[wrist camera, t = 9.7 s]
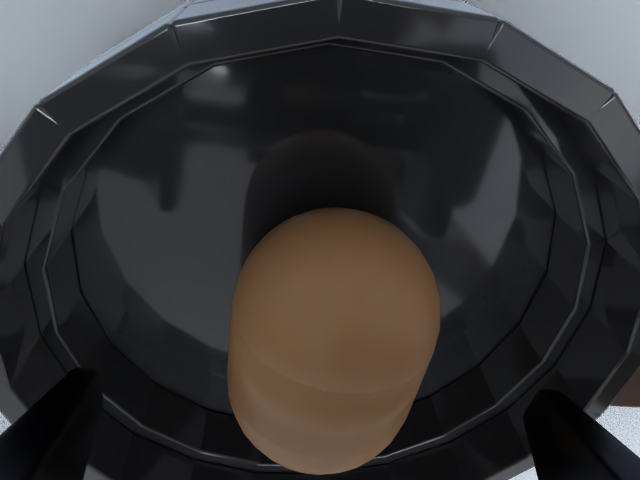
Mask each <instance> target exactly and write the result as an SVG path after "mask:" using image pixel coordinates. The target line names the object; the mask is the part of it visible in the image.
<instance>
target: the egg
mask: <svg viewBox="0 0 640 480" xmlns="http://www.w3.org/2000/svg"><path fill="white" fill-rule="evenodd" d="M439 331H440V296H439V293H438V289H437V285H436V281H435V278H434V275H433V271H432V270H431V268H430V266H429V264H428V263H427V261H426V259H425V258H424V256H423V254H422V252H421V251H420V249H419V248H418V247H417V246H416V244H415V243H414V242H413V241H412V240H411V239H410V238H409V237H408V236H407V235H406V234H405V233H403V232H402V231H401V230H400V229H399V228H397V227H396V226H395V225H393V224H392V223H390V222H388V221H387V220H385V219H383V218H380V217H378V216H376V215H373V214H370V213H367V212H364V211H360V210H356V209H349V208H338V207H331V208H320V209H315V210H311V211H308V212H305V213H302V214H299V215H296V216H293V217H291V218H289V219H288V220H286V221H284V222H282V223H281V224H280V225H278V226H277V227H275V228H274V229H272V230H271V231H270V232H269V233H267V234H266V235H265V236H264V237H263V238H262V239H261V240H260V242H259V243H258V244H257V245H256V246H255V247H254V248H253V250H252V251H251V253H250V254H249V256H248V258H247V259H246V261H245V263H244V265H243V267H242V269H241V271H240V273H239V276H238V280H237V283H236V287H235V292H234V297H233V301H232V313H231V326H230V339H229V353H228V366H227V380H228V395H229V399H230V402H231V406H232V410H233V412H234V415H235V417H236V419H237V421H238V423H239V425H240V427H241V429H242V431H243V433H244V434H245V435H246V437H247V438H248V439H249V440H250V441H251V443H252V444H253V445H254V446H255V447H256V448H257V449H258V450H260V451H261V452H262V453H263V454H265V455H266V456H267V457H268V458H270V459H271V460H272V461H274V462H276V463H278V464H280V465H281V466H283V467H285V468H288V469H291V470H294V471H297V472H300V473H306V474H315V475H323V474H335V473H341V472H344V471H348V470H351V469H354V468H357V467H359V466H361V465H363V464H365V463H366V462H368V461H370V460H371V459H373V458H374V457H375V456H377V455H378V454H379V453H380V452H381V451H382V450H383V449H385V448H386V447H387V446H388V445H389V444H390V443H391V442H392V440H393V439H394V437H395V436H396V434H397V433H398V431H399V430H400V428H401V427H402V425H403V424H404V422H405V420H406V418H407V416H408V413H409V411H410V408H411V406H412V404H413V401H414V399H415V396H416V394H417V392H418V389H419V387H420V384H421V382H422V380H423V377H424V375H425V372H426V370H427V368H428V365H429V363H430V360H431V358H432V355H433V353H434V349H435V346H436V342H437V338H438V334H439Z"/></svg>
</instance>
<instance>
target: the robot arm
mask: <svg viewBox="0 0 640 480" xmlns="http://www.w3.org/2000/svg"><path fill="white" fill-rule="evenodd" d="M102 403H103V393H102V386H101V379H100V373H99V370H98V369H97V368H90V367H76V368H74V369H72V370H71V371H70V372H68V373H67V374H66V375H65V376H64V377H63V378H62V379H61V380H60V381H59V382H58V383H56V384H55V385H54V386H53V387H52V388H51V389H50V390H49V391H48V392H47V393H46V394H44V395H43V396H42V397H41V398H40V399H39V400H38V401H37V402H36V403H35V404H34V405H33V406H31V407H30V408H29V409H28V410H27V411H26V412H25V413H24V414H23V415H22V416H21V417H19V418H18V419H17V420H16V421H15V422H14V423H13V424H12V425H11V426H10V427H9V428H7V429H6V430H5V431H4V432H3V433H2V434H1V435H0V480H83V478H84V475H85V471H86V467H87V463H88V459H89V455H90V451H91V447H92V443H93V440H94V436H95V432H96V428H97V424H98V420H99V416H100V412H101V408H102ZM523 421H524V427H525V430H526V434H527V438H528V442H529V446H530V449H531V453H532V457H533V461H534V465H535V468H536V472H537V476H538V480H640V458H639V457H638V456H637V455H636V454H634V453H633V452H632V451H631V450H630V449H629V448H627V447H626V446H625V445H624V444H623V443H621V442H620V441H619V440H618V439H617V438H615V437H614V436H613V435H612V434H611V433H610V432H608V431H607V430H606V429H605V428H604V427H602V426H601V425H600V424H599V423H598V422H597V421H595V420H594V419H593V418H592V417H591V416H589V415H588V414H587V413H586V412H585V411H583V410H582V409H581V408H580V407H579V406H578V405H576V404H575V403H574V402H573V401H572V400H570V399H569V398H568V397H567V396H566V395H565V394H563V393H562V392H560V391H558V390H551V389H541V390H539V391H537V393H536V394H535V396H534V397H533V399H532V400H531V402H530V404H529V405H528V407H527V408H526V410H525V412H524V417H523Z"/></svg>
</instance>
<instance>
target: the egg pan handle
mask: <svg viewBox="0 0 640 480" xmlns="http://www.w3.org/2000/svg"><path fill="white" fill-rule="evenodd" d="M610 406H620V407H640V367H639V368H638V370H637V371H636V372H635V373H634V375H633V376H632V377H631V379H630V380H629V381H628V382H627V384H626V385H625V386H624V388H623V389H622V390H621V392H620V393H619V394H618V395H617V397H616V398H615V399H614V401H613V402H612V403H611V404H610Z"/></svg>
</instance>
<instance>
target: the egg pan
mask: <svg viewBox="0 0 640 480" xmlns="http://www.w3.org/2000/svg"><path fill="white" fill-rule="evenodd" d="M331 207H338V208H349V209H356V210H360V211H364V212H367V213H370V214H373V215H376V216H378V217H380V218H383V219H385V220H387V221H388V222H390V223H392V224H393V225H395V226H396V227H397V228H399V229H400V230H401V231H402V232H403V233H405V234H406V235H407V236H408V237H409V238H410V239H411V240H412V241H413V242H414V243H415V244H416V246H417V247H418V248H419V249H420V251H421V252H422V254H423V256H424V258H425V259H426V261H427V263H428V264H429V266H430V268H431V270H432V271H433V275H434V278H435V281H436V285H437V289H438V293H439V296H440V331H439V334H438V338H437V342H436V346H435V349H434V353H433V355H432V358H431V360H430V363H429V365H428V368H427V370H426V372H425V375H424V377H423V380H422V382H421V384H420V387H419V389H418V392H417V394H416V396H415V399H414V401H413V404H412V406H411V408H410V411H409V413H408V416H407V418H406V420H405V422H404V424H403V425H402V427H401V428H400V430H399V431H398V433H397V434H396V436H395V437H394V439H393V440H392V442H391V443H390V444H389V445H388V446H387V447H386V448H385V449H383V450H382V451H381V452H380V453H379V454H378V455H377V456H375V457H374V458H373V459H371V460H370V461H368V462H366V463H365V464H363V465H361V466H359V467H357V468H354V469H351V470H348V471H344V472H341V473H335V474H323V475H315V474H306V473H300V472H297V471H294V470H291V469H288V468H285V467H283V466H281V465H280V464H278V463H276V462H274V461H272V460H271V459H270V458H268V457H267V456H266V455H265V454H263V453H262V452H261V451H260V450H258V449H257V448H256V447H255V446H254V445H253V444H252V443H251V441H250V440H249V439H248V438H247V437H246V435H245V434H244V433H243V431H242V429H241V427H240V425H239V423H238V421H237V419H236V417H235V415H234V412H233V410H232V406H231V402H230V399H229V395H228V380H227V366H228V353H229V339H230V326H231V313H232V301H233V297H234V292H235V287H236V283H237V280H238V276H239V273H240V271H241V269H242V267H243V265H244V263H245V261H246V259H247V258H248V256H249V254H250V253H251V251H252V250H253V248H254V247H255V246H256V245H257V244H258V243H259V242H260V240H261V239H262V238H263V237H264V236H265V235H266V234H267V233H269V232H270V231H271V230H272V229H274V228H275V227H277V226H278V225H280V224H281V223H282V222H284V221H286V220H288V219H289V218H291V217H293V216H296V215H299V214H302V213H305V212H308V211H311V210H315V209H320V208H331ZM76 367H90V368H97V369H98V370H99V373H100V379H101V386H102V393H103V403H102V408H101V412H100V416H99V420H98V424H97V428H96V432H95V436H94V440H93V443H92V447H91V451H90V455H89V459H88V463H87V467H86V471H85V475H84V478H83V480H509V479H511V478H513V477H515V476H517V475H519V474H520V473H522V472H524V471H526V470H528V469H530V468H532V467H534V466H535V465H534V461H533V457H532V453H531V449H530V446H529V442H528V438H527V434H526V430H525V427H524V421H523V417H524V412H525V410H526V408H527V407H528V405H529V404H530V402H531V400H532V399H533V397H534V396H535V394H536V393H537V391H539V390H541V389H551V390H558V391H560V392H562V393H563V394H565V395H566V396H567V397H568V398H569V399H570V400H572V401H573V402H574V403H575V404H576V405H578V406H579V407H580V408H581V409H582V410H583V411H585V412H586V413H587V414H588V415H589V416H591V417H592V418H593V419H594V420H596V419H598V418H599V417H600V416H601V415H602V413H604V412H605V411H606V410H607V408H608V407H609V406H610V404H611V403H612V402H613V401H614V399H615V398H616V397H617V395H618V394H619V393H620V392H621V390H622V389H623V388H624V386H625V385H626V384H627V382H628V381H629V380H630V379H631V377H632V376H633V375H634V373H635V372H636V371H637V370H638V368H639V367H640V129H639V127H638V126H637V124H636V122H635V121H634V119H633V118H632V116H631V114H630V113H629V111H628V109H627V108H626V106H625V104H624V103H623V101H622V100H621V98H620V96H619V95H618V93H616V92H615V91H614V90H613V88H612V87H610V86H609V85H607V84H605V83H604V82H602V81H601V80H599V79H597V78H596V77H594V76H593V75H591V74H590V73H588V72H586V71H585V70H583V69H582V68H580V67H579V66H577V65H575V64H574V63H572V62H571V61H569V60H568V59H566V58H564V57H563V56H561V55H560V54H558V53H557V52H555V51H553V50H552V49H550V48H549V47H547V46H545V45H544V44H542V43H541V42H539V41H538V40H536V39H534V38H533V37H531V36H530V35H528V34H527V33H525V32H523V31H522V30H520V29H519V28H517V27H516V26H514V25H512V24H511V23H509V22H508V21H506V20H504V19H502V18H500V17H497V16H495V15H493V14H490V13H488V12H486V11H483V10H481V9H479V8H476V7H474V6H472V5H469V4H466V3H464V2H462V1H459V0H188V1H186V2H185V3H183V4H181V5H180V6H178V7H177V8H175V9H173V10H172V11H170V12H168V13H167V14H165V15H164V16H162V17H160V18H159V19H157V20H155V21H154V22H152V23H150V24H149V25H147V26H146V27H144V28H142V29H141V30H139V31H137V32H136V33H134V34H133V35H131V36H129V37H128V38H126V39H124V40H123V41H121V42H120V43H118V44H116V45H115V46H113V47H111V48H110V49H108V50H106V51H105V52H103V53H102V54H101V55H99V56H98V57H96V58H95V59H94V60H92V61H91V62H90V63H88V64H87V65H86V66H84V67H83V68H82V69H80V70H79V71H78V72H77V73H75V74H74V75H72V76H71V77H69V78H68V79H67V80H65V81H64V82H63V83H61V84H60V85H59V86H57V87H56V88H55V89H53V90H52V91H51V92H49V93H48V94H47V95H45V96H44V97H42V98H41V99H40V101H39V102H37V103H36V104H35V105H33V107H32V108H31V110H30V111H29V113H28V114H27V115H26V117H25V118H24V120H23V121H22V123H21V124H20V126H19V127H18V128H17V130H16V131H15V133H14V134H13V136H12V137H11V139H10V140H9V142H8V143H7V144H6V146H5V147H4V149H3V150H2V152H1V153H0V412H1V413H2V414H3V415H4V416H5V417H6V419H7V420H8V421H9V422H10V423H11V424H13V423H14V422H15V421H16V420H17V419H18V418H19V417H21V416H22V415H23V414H24V413H25V412H26V411H27V410H28V409H29V408H30V407H31V406H33V405H34V404H35V403H36V402H37V401H38V400H39V399H40V398H41V397H42V396H43V395H44V394H46V393H47V392H48V391H49V390H50V389H51V388H52V387H53V386H54V385H55V384H56V383H58V382H59V381H60V380H61V379H62V378H63V377H64V376H65V375H66V374H67V373H68V372H70V371H71V370H72V369H74V368H76Z"/></svg>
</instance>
